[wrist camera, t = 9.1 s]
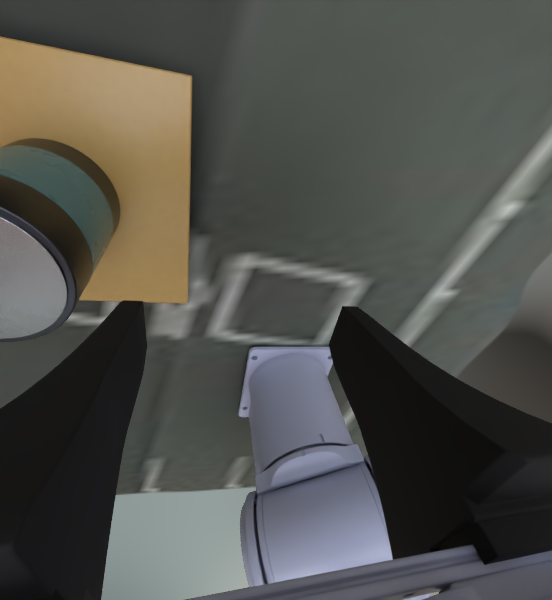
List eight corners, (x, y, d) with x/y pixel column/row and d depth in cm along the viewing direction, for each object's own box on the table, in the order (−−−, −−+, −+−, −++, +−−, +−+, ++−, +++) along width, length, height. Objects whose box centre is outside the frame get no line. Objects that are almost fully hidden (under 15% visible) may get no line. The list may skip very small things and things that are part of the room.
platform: (189, 282, 22) (187, 303, 20) (-17, 272, 19) (-42, 296, 17) (193, 74, 15) (191, 75, 13) (-125, 8, 12) (-189, -2, 10)
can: (125, 254, 17) (88, 344, 12) (9, 246, 16) (-95, 344, 10) (114, 147, 14) (57, 202, 9) (-31, 127, 13) (-209, 175, 7)
